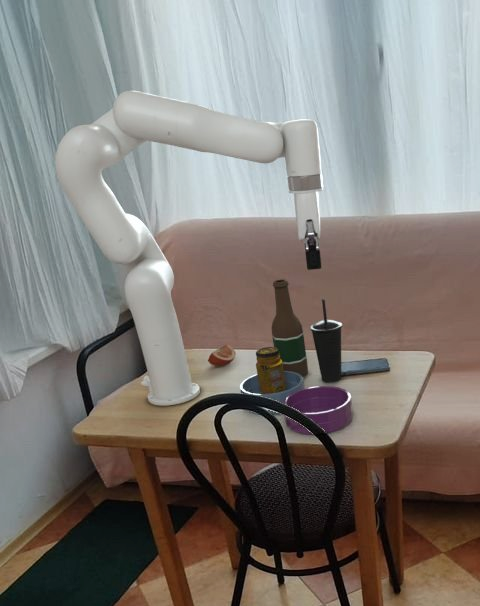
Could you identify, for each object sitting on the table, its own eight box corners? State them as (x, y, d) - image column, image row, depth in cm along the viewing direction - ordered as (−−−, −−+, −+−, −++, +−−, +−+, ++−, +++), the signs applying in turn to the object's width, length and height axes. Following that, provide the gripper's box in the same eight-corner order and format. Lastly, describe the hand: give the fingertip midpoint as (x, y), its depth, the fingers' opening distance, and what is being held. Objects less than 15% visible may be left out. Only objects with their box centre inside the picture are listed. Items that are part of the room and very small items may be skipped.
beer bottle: (307, 380, 157) (294, 283, 146) (276, 382, 158) (261, 286, 146) (309, 368, 164) (298, 275, 152) (280, 370, 165) (266, 278, 153)
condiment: (287, 391, 151) (280, 343, 145) (292, 405, 144) (284, 355, 138) (257, 396, 150) (249, 348, 144) (260, 410, 142) (251, 360, 137)
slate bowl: (231, 411, 144) (227, 391, 142) (264, 387, 155) (261, 368, 153) (285, 418, 138) (282, 397, 136) (316, 393, 150) (313, 373, 147)
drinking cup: (340, 386, 152) (332, 304, 142) (311, 383, 155) (301, 303, 145) (351, 374, 158) (344, 295, 149) (323, 372, 161) (315, 294, 151)
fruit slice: (221, 359, 176) (218, 342, 174) (242, 360, 174) (239, 343, 171) (204, 370, 169) (201, 352, 167) (226, 371, 167) (222, 353, 165)
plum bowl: (274, 431, 133) (270, 409, 131) (306, 403, 145) (303, 383, 142) (334, 439, 128) (332, 417, 125) (363, 410, 139) (361, 389, 137)
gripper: (288, 181, 144) (297, 258, 152) (287, 189, 129) (297, 274, 137) (321, 178, 144) (328, 255, 153) (324, 186, 129) (332, 271, 138)
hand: (313, 264), depth 145 cm, fingers open, 9 cm apart
